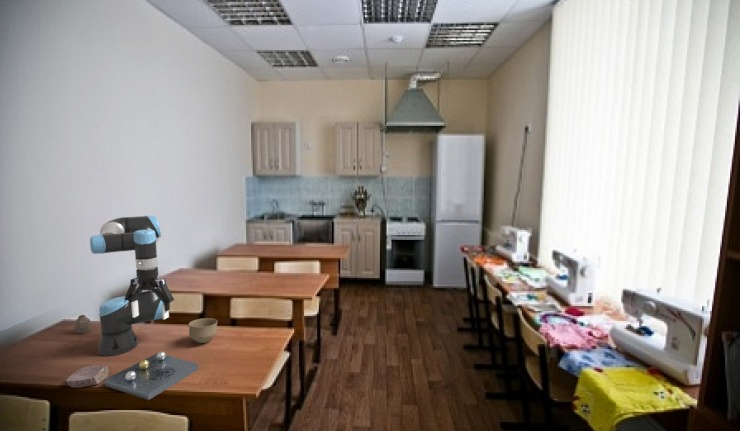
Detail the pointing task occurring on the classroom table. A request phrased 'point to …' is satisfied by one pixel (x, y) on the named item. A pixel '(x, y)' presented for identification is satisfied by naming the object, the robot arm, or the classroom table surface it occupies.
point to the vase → (82, 324)
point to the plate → (152, 376)
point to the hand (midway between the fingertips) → (150, 317)
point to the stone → (88, 376)
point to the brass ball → (144, 364)
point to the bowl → (203, 329)
